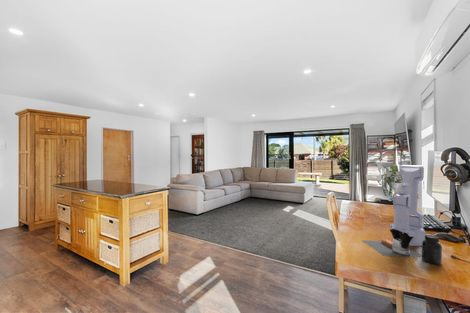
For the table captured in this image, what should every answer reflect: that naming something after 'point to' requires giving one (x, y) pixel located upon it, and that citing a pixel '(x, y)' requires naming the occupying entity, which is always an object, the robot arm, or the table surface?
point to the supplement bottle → (432, 250)
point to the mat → (388, 249)
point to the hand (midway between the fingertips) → (401, 246)
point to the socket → (398, 244)
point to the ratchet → (390, 245)
